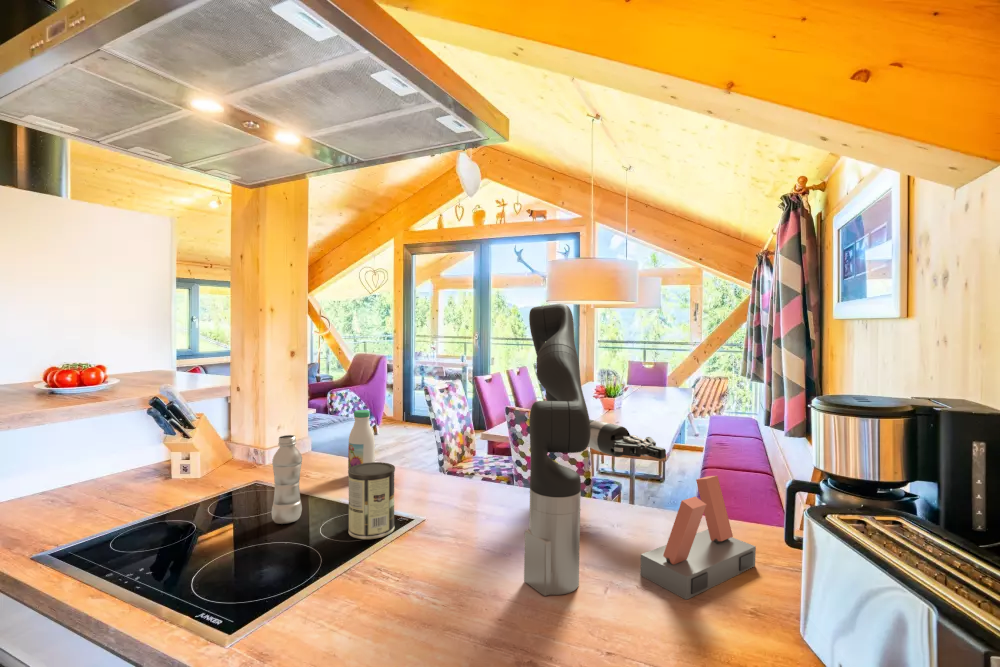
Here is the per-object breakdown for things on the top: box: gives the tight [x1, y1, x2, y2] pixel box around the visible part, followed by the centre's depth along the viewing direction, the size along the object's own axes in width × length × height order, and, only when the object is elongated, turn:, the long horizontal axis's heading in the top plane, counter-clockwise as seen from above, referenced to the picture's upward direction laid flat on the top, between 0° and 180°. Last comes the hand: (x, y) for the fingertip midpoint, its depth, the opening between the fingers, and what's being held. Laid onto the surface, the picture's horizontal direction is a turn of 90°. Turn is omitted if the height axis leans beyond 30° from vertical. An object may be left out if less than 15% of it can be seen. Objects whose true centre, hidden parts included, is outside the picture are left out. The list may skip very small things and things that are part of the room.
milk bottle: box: [347, 409, 376, 477], centre depth 152 cm, size 8×8×20 cm
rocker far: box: [695, 475, 734, 543], centre depth 103 cm, size 4×2×12 cm, turn 124°
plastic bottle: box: [271, 434, 303, 525], centre depth 118 cm, size 6×7×20 cm
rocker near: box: [663, 496, 707, 565], centre depth 91 cm, size 4×3×12 cm, turn 124°
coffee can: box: [347, 461, 396, 540], centre depth 114 cm, size 10×10×14 cm
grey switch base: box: [640, 528, 757, 601], centre depth 97 cm, size 22×10×4 cm, turn 124°
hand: (663, 454), depth 113 cm, fingers closed
